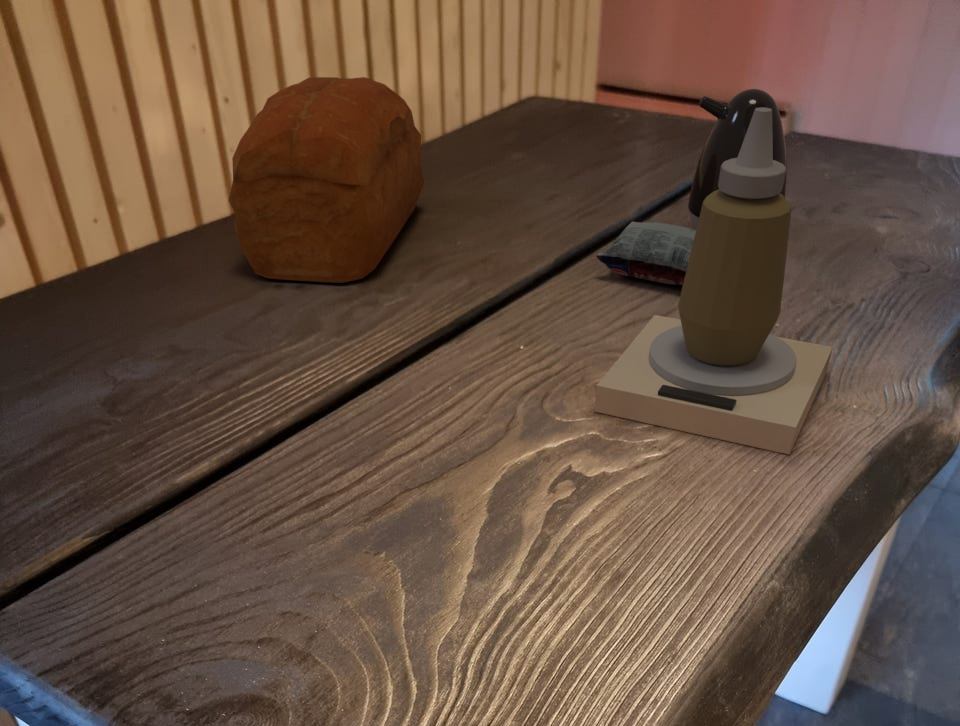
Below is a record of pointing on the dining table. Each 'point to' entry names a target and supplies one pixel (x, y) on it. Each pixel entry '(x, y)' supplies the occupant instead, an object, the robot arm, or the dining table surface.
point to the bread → (325, 179)
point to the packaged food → (651, 252)
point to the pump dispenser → (731, 142)
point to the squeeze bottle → (738, 255)
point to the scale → (715, 388)
